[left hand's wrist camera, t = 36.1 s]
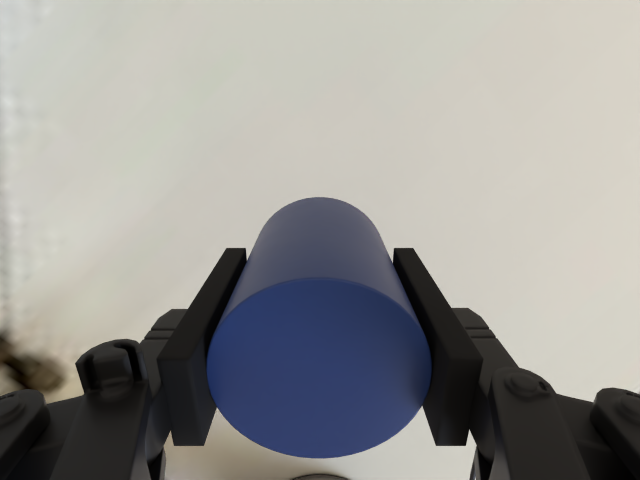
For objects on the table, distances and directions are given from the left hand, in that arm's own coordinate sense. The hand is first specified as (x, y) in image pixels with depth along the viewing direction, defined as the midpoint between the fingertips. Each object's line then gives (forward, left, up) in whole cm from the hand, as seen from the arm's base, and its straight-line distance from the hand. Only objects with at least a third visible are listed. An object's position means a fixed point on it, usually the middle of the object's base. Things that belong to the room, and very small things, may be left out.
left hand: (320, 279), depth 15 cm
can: (0, 0, -2) cm, 2 cm away
